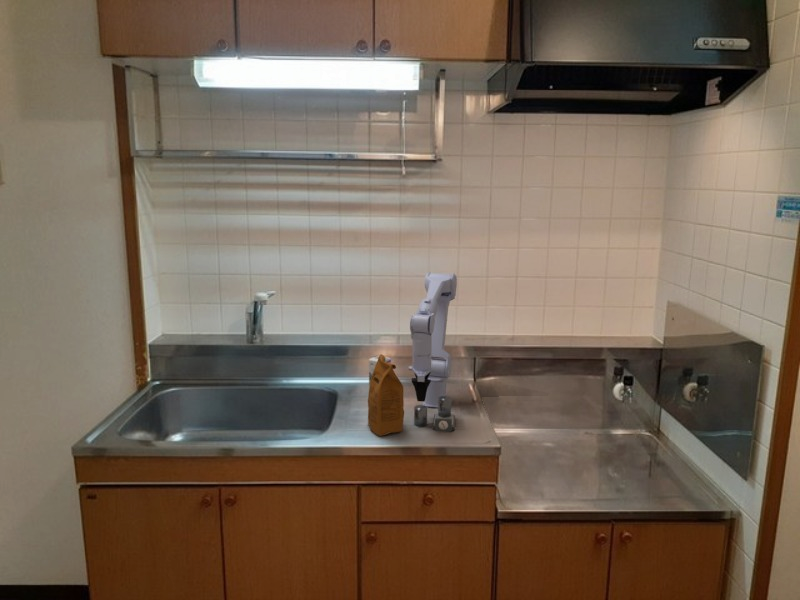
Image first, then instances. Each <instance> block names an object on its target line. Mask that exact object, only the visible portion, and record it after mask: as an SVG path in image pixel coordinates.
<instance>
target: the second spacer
mask: <svg viewBox="0 0 800 600" xmlns="http://www.w3.org/2000/svg"><path fill="white" fill-rule="evenodd" d="M413 425H414V426H415V427H419V428H424V427H427V426H428V407H426V406H424V405H423V404H418V405H415V406H414V408H413Z"/></svg>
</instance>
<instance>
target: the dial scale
mask: <svg viewBox="0 0 800 600" xmlns="http://www.w3.org/2000/svg"><path fill="white" fill-rule="evenodd" d="M455 425H456V415H455V412H451V416H450V417H446V418H444V417H440V416H438V411H435V414H434V416H433V421H432V430H434V432H444V433H447V432H448V433H452V431H455V427H456V426H455Z"/></svg>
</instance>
